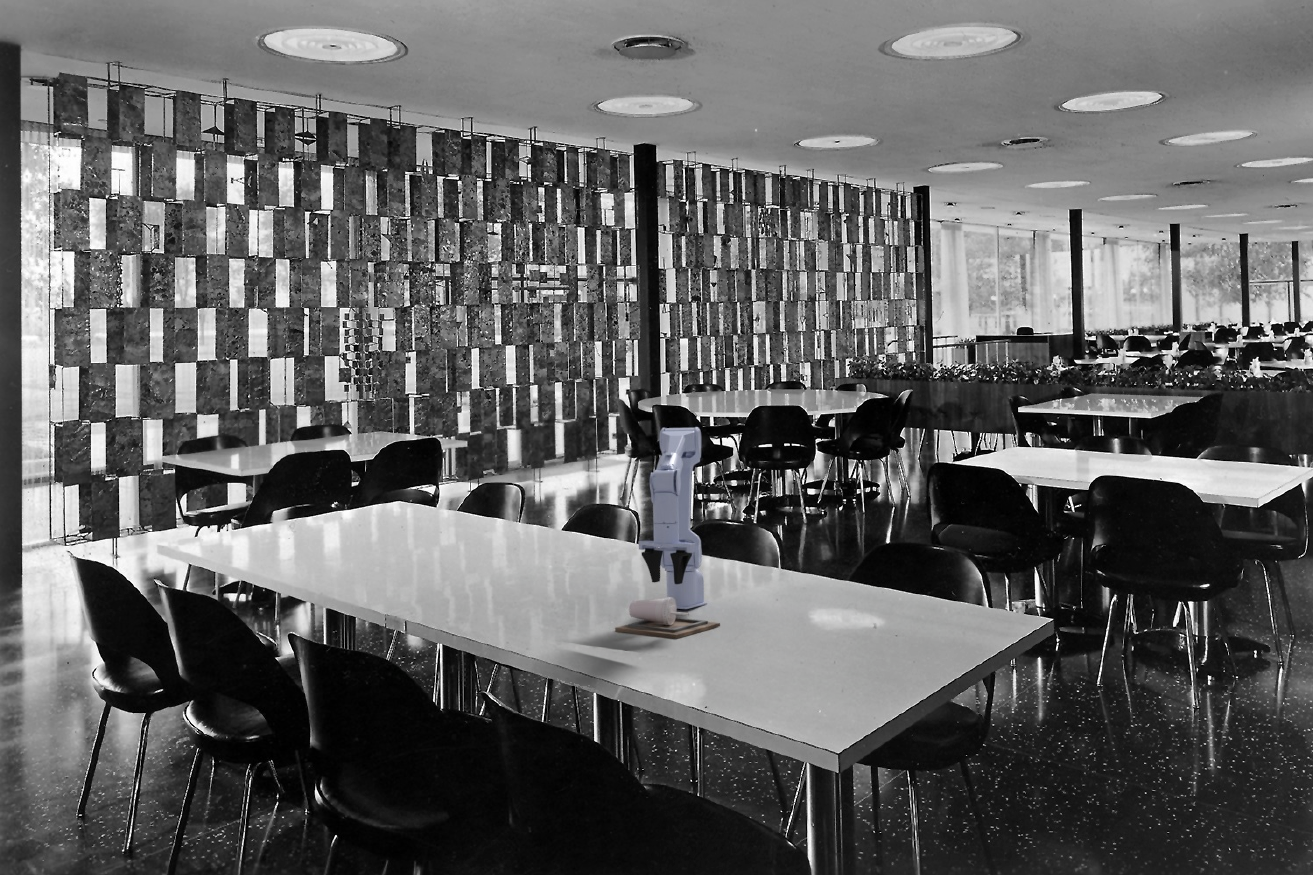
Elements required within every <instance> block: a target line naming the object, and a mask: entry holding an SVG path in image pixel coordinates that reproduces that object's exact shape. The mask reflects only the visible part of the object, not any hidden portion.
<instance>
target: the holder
mask: <svg viewBox="0 0 1313 875" xmlns="http://www.w3.org/2000/svg"><path fill="white" fill-rule="evenodd" d="M718 626H719V627H721V622H714V621H713V622H712V621H708V620H702V619H695V618H694V619H693V618H686V617H685V618H684V617H683V618H682V617H676V618H675V621H674V623H673V624H672V625H665V624H664V623H659V622H654V621H649V620H644V619H643V620H641V621H640V620H639V621H636V622H632V623H628V624H625V625H620V626H617V627H616V626H615V627H614V629H615V632H618V633H627V634H628V633H629V634H635V635H641V636H642V635H643V636H652V637H659V638H668V639H680V638H684V637H687V636H690V635H695V634H698V633H702V632H706V631H710V630H712V629H713V630H714V629H715V628H718Z"/></svg>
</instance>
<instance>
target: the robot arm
mask: <svg viewBox="0 0 1313 875" xmlns="http://www.w3.org/2000/svg"><path fill="white" fill-rule="evenodd" d="M659 449H660V451H661V455H660V457H659V458H658V462H657V465H656V469H655V470H653V472H650V475H649V489H650V496H651V499H650V500H651V503H652V505H653V506H652V511H653V512H652V516H653V517H652V518H653V520H652V521H653V522H652V523H653V540H639V541H638V550H639V551H640V550H641V551H643V552H641V556H642V558H643V560H644V561H645V563H646V566H647V568H648V571H649V575H650V578H651V582H652V583H659V582H660V581H661V567H662V569H664V571H665V572H666V574H665V575H666V576H665V577H666V598H667V597H671V598H674V600H675V602H676V608H677V610H679V609H680V610H688V609H692V608H697V607H700V606H701V607H702V606H705V605H707V604H708V602H707V601H705V593H704V592H705V590H704V589H705V588H704V586H705V584H704V582H705V581H704V576H703V573H702V572H701V571H700V570H698V569H700V567H701V565H702V560H703V558H702V557H703V552H702V540H701V538H700V536H699V535H697V534H696V533H695V532H693V531H692V529H691V512H692V508H691V504H692V474H693V469H694V466H695V465H696V464H698V463H700V462H701V458H702V432H701V429H700V427H698V426H695V427H669V428H667V427H662V428H661V429H660V431H659Z"/></svg>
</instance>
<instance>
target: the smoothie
mask: <svg viewBox="0 0 1313 875" xmlns="http://www.w3.org/2000/svg"><path fill="white" fill-rule="evenodd" d="M677 610H678V608H676V602H675V600H674V598H671V597H667V596H666V598H656V599H655V598H654V599H645V600H644V599H640V600H632V601H631V602H630V603H629V609H628V611H629V615H630V618H634V619H635V618H636V619H640V620H643V621H644V620H649V621H654V622H659V623H664V624H665V625H672V624H673V623H674V621H675V618H677V616H689V615H690V612H681V611H680V612H679V611H677Z"/></svg>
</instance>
